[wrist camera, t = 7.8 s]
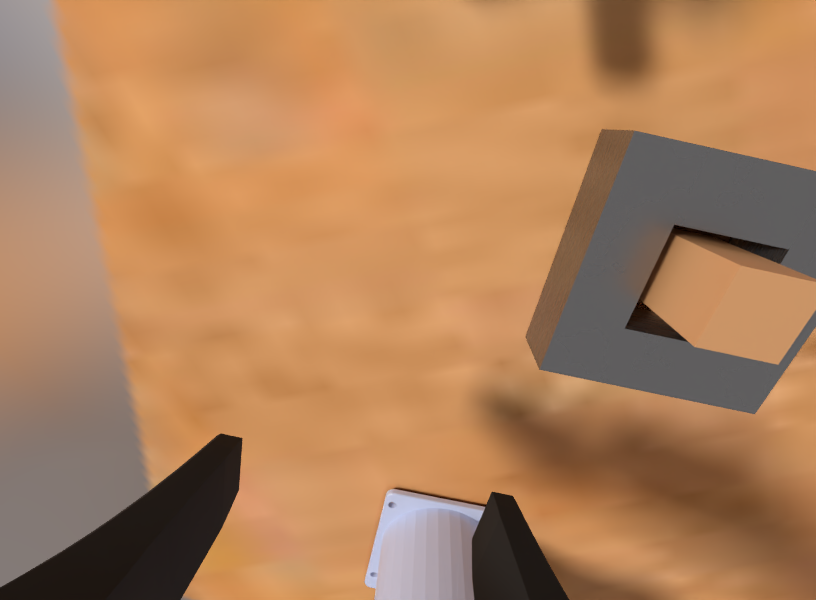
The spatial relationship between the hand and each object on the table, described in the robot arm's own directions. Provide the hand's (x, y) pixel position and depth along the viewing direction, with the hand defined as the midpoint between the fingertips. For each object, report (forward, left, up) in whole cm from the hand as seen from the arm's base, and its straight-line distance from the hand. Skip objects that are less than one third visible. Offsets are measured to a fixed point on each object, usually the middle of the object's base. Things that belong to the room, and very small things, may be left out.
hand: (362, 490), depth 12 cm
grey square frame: (+6, -12, -10) cm, 17 cm away
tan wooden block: (+6, -12, -10) cm, 17 cm away
